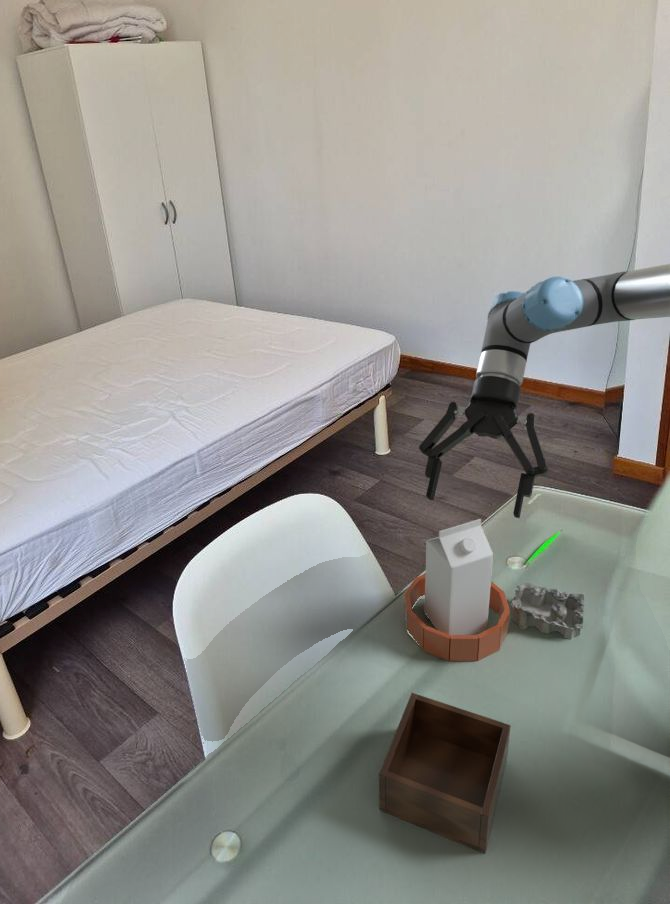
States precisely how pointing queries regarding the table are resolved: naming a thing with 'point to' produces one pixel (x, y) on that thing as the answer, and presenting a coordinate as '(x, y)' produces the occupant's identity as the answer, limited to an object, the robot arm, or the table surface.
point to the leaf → (543, 546)
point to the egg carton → (548, 609)
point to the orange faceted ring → (457, 644)
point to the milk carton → (458, 579)
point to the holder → (445, 771)
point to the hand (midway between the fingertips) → (471, 507)
